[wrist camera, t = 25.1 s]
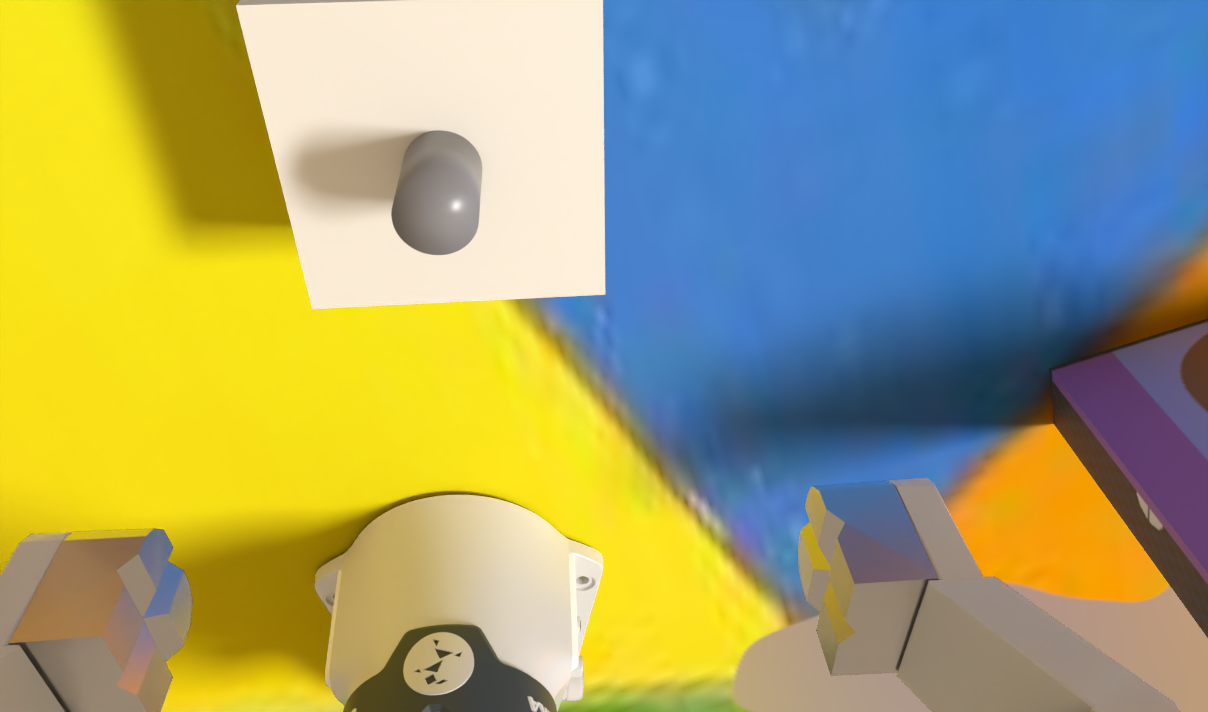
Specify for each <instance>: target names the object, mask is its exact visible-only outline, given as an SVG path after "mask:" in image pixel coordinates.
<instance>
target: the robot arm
mask: <svg viewBox="0 0 1208 712" xmlns="http://www.w3.org/2000/svg"><path fill="white" fill-rule="evenodd" d="M805 507H806V510H807V513H808V516H809V519H810V522H809V523H808V524H807V525H806V526H805V527H804V528H803V529H802V530H801V532H800V539H799V546H798V556H799V571H800V576H801V581H802V586H803V589H804V593H805V596H806V599H807V601H808V602H809V603H810V604H811V605H812V606H814V607H815V608H816V609H817V610H818V611H819V612H820V616H819V620H818V625H817V630H816V631H817V634H818V637H819V640H820V643H821V647H822V650H823V653H824V656H825V659H826V662H827V665H828V668H829V671H830V674H831V676H839V675H860V674H881V673H897V677H898V678H899V679H900V680H901V681H902V682H903V683H904V684H905V685H906V686H907V687H908V688H909V689H910V690H911V691H912V692H913V693H914V694H915V695H916V696H917V697H918V698H919V699H920V700H921V701H922V702H923V703H924V704H925V705H926V706H927V707H928V708H929V709H930V710H931V711H932V712H1180V710H1179V709H1178V707H1177V706H1176V704H1175V703H1174V702H1173V701H1172V700H1170V699H1169V698H1167V697H1166V696H1165V695H1163V694H1162V693H1160V692H1159V691H1158V690H1156V689H1155V688H1153V687H1152V686H1150V685H1149V684H1148V683H1146V682H1145V681H1143V680H1142V679H1140V678H1139V677H1138V676H1136V675H1135V674H1133V673H1132V672H1130V671H1129V670H1128V669H1126V668H1125V667H1123V666H1122V665H1120V664H1119V663H1118V662H1116V661H1115V660H1113V659H1112V658H1110V657H1109V656H1108V655H1106V654H1105V653H1103V652H1102V651H1100V650H1099V649H1098V648H1096V647H1095V646H1093V645H1092V644H1091V643H1089V642H1088V641H1086V640H1085V639H1083V638H1082V637H1081V636H1079V635H1078V634H1076V633H1075V632H1073V631H1072V630H1071V629H1069V628H1067V627H1066V626H1065V625H1063V624H1062V623H1061V622H1059V621H1058V620H1056V619H1055V618H1053V617H1052V616H1050V615H1049V614H1048V613H1046V612H1045V611H1043V610H1042V609H1040V608H1039V607H1038V606H1036V605H1035V604H1033V603H1032V602H1031V601H1029V600H1028V599H1026V598H1025V597H1023V596H1022V595H1020V594H1019V593H1018V592H1016V591H1015V590H1013V589H1012V588H1011V587H1009V586H1008V585H1006V584H1005V583H1003V582H1002V581H1001V580H999V579H998V578H996V577H983V575H982V573H981V571H980V570H979V568H978V566H977V564H976V562H975V560H974V558H973V556H972V554H971V553H970V551H969V549H968V547H967V545H966V543H965V541H964V539H963V537H962V536H961V534H960V532H959V530H958V528H957V526H956V524H955V522H954V520H953V519H952V517H951V515H950V513H949V511H948V509H947V507H946V505H945V503H944V502H943V500H942V498H941V496H940V494H939V492H938V490H937V488H936V486H935V485H934V483H933V482H931V481H930V480H929V479H928V478H918V479H904V480H890V481H872V482H859V483H845V484H832V485H819V486H812V487H811V489H810V491H809V492H808V496H807V501H806V505H805ZM172 549H173V546H172V544H171V542H170V540H169V539H168V537H167V535H166V533H165V531H164V530H163V529H155V528H151V529H125V530H100V531H74V532H64V533H41V534H31V535H29V536H28V537H27V538H25V539H24V540H23V541H21V542H20V543H19V544H18V546H17V548H16V549H15V551H14V553H13V554H12V556H11V558H10V560H9V561H8V563H7V565H6V566H5V568H4V570H3V572H2V573H1V575H0V712H161V709H162V706H163V704H164V701H165V698H166V695H167V692H168V689H169V686H170V684H171V681H172V678H173V677H172V675H171V673H170V671H169V669H168V667H167V664H166V661H167V660H168V659H169V658H170V657H171V656H172V655H174V654H175V653H176V652H177V651H178V650H179V649H180V648H181V647H182V646H183V645H184V643H185V640H186V637H187V634H188V631H189V627H190V624H191V613H192V595H191V589H190V584H189V581H188V579H187V577H186V575H185V572H184V571H183V570H182V569H180V568H178V567H177V566H175V565H173V564H172V563H170V562H169V561H168V559H169V557H170V554H171V551H172ZM602 573H603V556H602V554H601V553H600V552H599V551H597V550H595V549H594V548H591V547H589V546H587V545H584V544H581V543H579V542H576V541H573V540H570V539H568V538H566V537H564V536H563V535H562V534H560V533H559V532H558V531H557V530H556V529H555V528H553V527H552V526H551V525H550V524H549V523H548V522H547V521H545V520H544V519H543V518H541V517H540V516H538V515H537V514H535V513H533V512H531V511H529V510H527V509H525V508H523V507H521V506H518V505H516V504H513V503H510V502H507V501H503V500H500V499H495V498H491V497H484V496H476V495H442V496H434V497H428V498H423V499H419V500H415V501H412V502H408V503H405V504H403V505H400V506H398V507H395V508H393V509H391V510H389V511H387V512H385V513H384V514H382V515H380V516H379V517H377V518H376V519H375V520H373V521H372V522H371V523H370V524H369V525H368V526H367V527H366V528H365V529H364V530H363V531H362V532H361V533H360V534H359V536H358V537H357V539H356V540H355V541H354V543H353V544H352V546H351V547H350V548H349V549H348V550H347V551H346V552H345V553H344V554H342V555H341V556H339V557H337V558H335V559H333V560H331V561H329V562H328V563H326V564H325V565H323V566H322V567H320V568H319V569H318V570H317V572H316V575H315V586H314V587H315V590H316V592H317V594H318V596H319V597H320V599H321V600H322V602H323V603H324V605H325V606H326V608H327V609H328V611H329V612H330V614H331V615H332V621H331V629H330V636H329V644H328V652H327V660H326V668H325V682H326V685H327V686H329V687H331V688H332V691H333V693H334V695H335V697H336V698H337V699H338V700H339V701H340V702H341V703H342V704H343V705H344V706H345V707H344V711H343V712H558V709H559V707H560V704H561V702H562V701H565V700H566V701H579V700H581V699H582V695H583V684H584V676H583V659H582V656H579V653H580V649H581V646H582V642H583V639H584V635H585V632H586V629H587V625H588V622H589V618H590V615H591V611H592V608H593V604H594V601H595V597H596V594H597V590H598V587H599V583H600V580H601V577H602Z"/></svg>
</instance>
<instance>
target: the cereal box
mask: <svg viewBox="0 0 1208 712" xmlns="http://www.w3.org/2000/svg"><path fill="white" fill-rule="evenodd" d="M1050 374H1051V389H1052V404H1053V418H1054V425H1055V426H1056V427H1057V429H1058V430H1059V432H1060V433H1061V434H1062V436H1063V437H1064V438H1065V440H1066V441H1067V443H1068V444H1069V445H1070V447H1071V448H1072V450H1073V451H1074V452H1075V454H1076V455H1077V457H1078V458H1079V459H1080V461H1081V462H1082V464H1083V465H1084V466H1085V468H1086V469H1087V470H1088V472H1089V473H1090V475H1091V476H1092V477H1093V479H1094V480H1095V482H1096V483H1097V484H1098V486H1099V487H1100V489H1101V490H1102V491H1103V493H1104V494H1105V496H1106V497H1107V498H1108V500H1109V501H1110V502H1111V504H1112V505H1113V507H1114V508H1115V509H1116V511H1117V512H1118V514H1119V515H1120V516H1121V518H1122V519H1123V521H1124V522H1125V523H1126V525H1127V526H1128V528H1129V529H1130V530H1131V532H1132V533H1133V535H1134V536H1135V537H1136V539H1137V540H1138V541H1139V543H1140V544H1141V546H1142V547H1143V548H1144V550H1145V551H1146V553H1147V554H1148V555H1149V557H1150V558H1151V560H1152V561H1153V562H1154V564H1155V565H1156V567H1157V568H1158V569H1159V571H1160V572H1161V573H1162V575H1163V576H1164V578H1165V579H1166V580H1167V582H1168V583H1169V585H1170V586H1171V587H1172V589H1173V590H1174V591H1175V593H1176V594H1177V596H1178V597H1179V599H1180V600H1181V601H1182V603H1183V604H1184V605H1185V607H1186V608H1187V610H1188V611H1189V612H1190V614H1191V615H1192V617H1193V618H1194V619H1195V621H1196V622H1197V623H1198V625H1199V626H1200V628H1201V629H1202V631H1203V632H1204V633H1205V635H1206V636H1207V637H1208V319H1206V320H1202V321H1199V322H1196V323H1193V324H1190V325H1187V326H1183V327H1180V328H1177V329H1174V330H1171V331H1168V332H1164V333H1161V334H1158V335H1155V336H1152V337H1148V338H1145V339H1142V340H1139V341H1136V342H1133V343H1129V344H1126V345H1123V346H1120V347H1117V348H1114V349H1110V350H1107V351H1104V352H1101V353H1098V354H1095V355H1091V356H1088V357H1085V358H1082V359H1079V360H1075V361H1072V362H1069V363H1066V364H1063V365H1060V366H1056V367H1053V368H1050Z"/></svg>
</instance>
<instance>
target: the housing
mask: <svg viewBox="0 0 1208 712" xmlns="http://www.w3.org/2000/svg"><path fill="white" fill-rule="evenodd" d="M236 8H237V12H238V16H239V20H240V24H241V28H242V32H243V36H244V40H245V44H246V48H247V52H248V56H249V60H250V64H251V68H252V72H253V76H254V80H255V84H256V88H257V92H258V96H259V100H260V103H261V107H262V111H263V115H264V119H265V123H266V127H267V131H268V135H269V139H270V143H271V147H272V151H273V155H274V159H275V163H276V167H277V171H278V175H279V179H280V183H281V187H282V191H283V195H284V198H285V202H286V206H287V210H288V214H289V218H290V222H291V226H292V230H293V234H294V238H295V242H296V246H297V250H298V254H299V258H300V262H301V266H302V270H303V274H304V278H305V282H306V286H307V290H308V293H309V297H310V301H311V305H312V309H324V308H344V307H364V306H384V305H404V304H424V303H445V302H465V301H485V300H505V299H525V298H545V297H565V296H585V295H605V209H604V86H603V0H240V1H239V2H238V3H237V4H236Z"/></svg>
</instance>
